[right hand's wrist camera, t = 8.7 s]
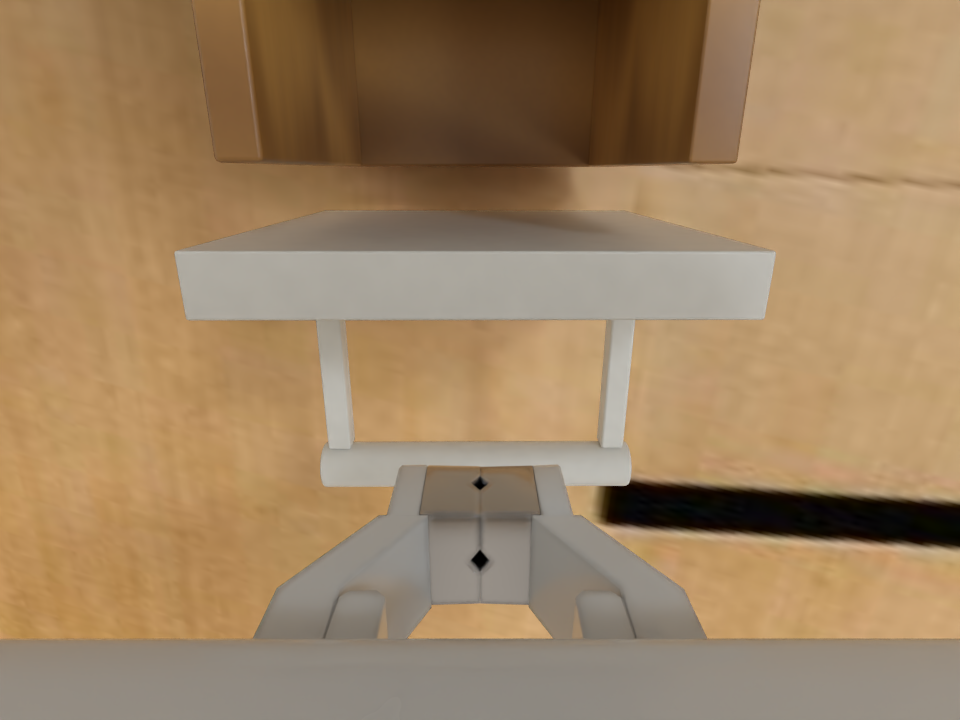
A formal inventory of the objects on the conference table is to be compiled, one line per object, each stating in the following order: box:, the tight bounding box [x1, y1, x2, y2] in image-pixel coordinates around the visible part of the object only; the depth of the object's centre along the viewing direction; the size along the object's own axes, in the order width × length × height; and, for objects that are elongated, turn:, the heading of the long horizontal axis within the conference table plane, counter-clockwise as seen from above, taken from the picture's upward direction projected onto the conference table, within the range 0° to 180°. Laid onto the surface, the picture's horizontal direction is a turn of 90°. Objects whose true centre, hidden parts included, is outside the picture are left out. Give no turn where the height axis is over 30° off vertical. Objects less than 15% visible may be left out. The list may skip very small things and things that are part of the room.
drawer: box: [174, 0, 776, 487], centre depth 13 cm, size 19×10×10 cm, turn 0°
